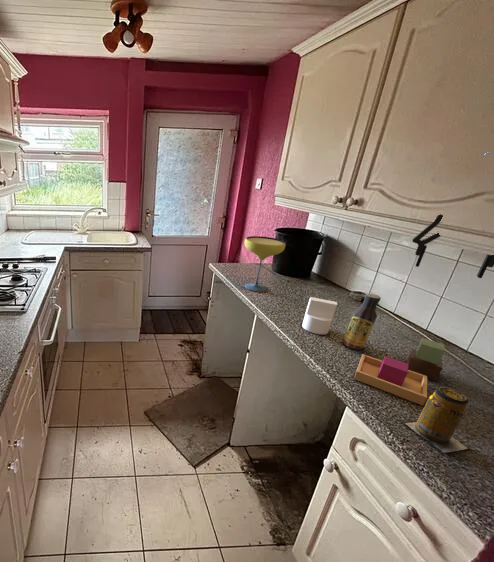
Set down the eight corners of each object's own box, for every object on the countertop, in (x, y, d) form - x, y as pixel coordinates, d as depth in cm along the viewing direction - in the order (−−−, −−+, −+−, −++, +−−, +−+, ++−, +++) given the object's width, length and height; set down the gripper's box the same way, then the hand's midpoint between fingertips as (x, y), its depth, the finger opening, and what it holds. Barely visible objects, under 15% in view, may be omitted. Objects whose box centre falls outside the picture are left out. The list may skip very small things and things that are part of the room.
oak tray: (423, 383, 92) (427, 376, 91) (423, 405, 84) (427, 397, 83) (359, 361, 102) (362, 353, 101) (353, 378, 94) (356, 371, 93)
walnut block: (435, 371, 98) (441, 358, 97) (435, 381, 94) (442, 367, 92) (406, 361, 103) (412, 348, 101) (405, 371, 98) (411, 357, 96)
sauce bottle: (339, 344, 111) (357, 294, 104) (345, 338, 115) (362, 289, 108) (361, 353, 107) (381, 300, 99) (366, 346, 111) (385, 295, 103)
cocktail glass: (251, 279, 171) (260, 234, 162) (282, 290, 157) (293, 242, 148) (229, 285, 162) (237, 238, 153) (260, 297, 148) (270, 246, 139)
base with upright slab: (327, 326, 124) (335, 299, 119) (329, 336, 116) (338, 308, 112) (301, 320, 127) (309, 294, 123) (302, 330, 120) (310, 302, 116)
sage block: (437, 358, 97) (444, 344, 95) (437, 364, 93) (444, 350, 91) (416, 351, 100) (422, 337, 98) (415, 357, 96) (422, 344, 94)
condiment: (427, 420, 79) (447, 382, 75) (468, 449, 71) (492, 408, 67) (404, 424, 78) (423, 385, 73) (443, 453, 70) (466, 412, 65)
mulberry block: (401, 379, 93) (408, 363, 91) (400, 388, 89) (407, 372, 87) (378, 370, 96) (384, 355, 94) (376, 379, 93) (383, 363, 91)
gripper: (545, 204, 82) (506, 278, 90) (419, 194, 98) (395, 259, 105) (553, 206, 77) (510, 285, 85) (418, 196, 93) (393, 263, 100)
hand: (446, 271), depth 95 cm, fingers open, 13 cm apart
